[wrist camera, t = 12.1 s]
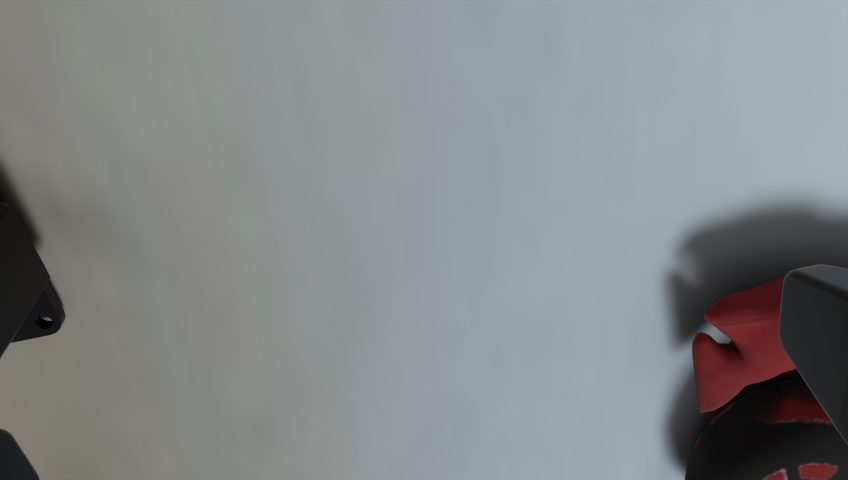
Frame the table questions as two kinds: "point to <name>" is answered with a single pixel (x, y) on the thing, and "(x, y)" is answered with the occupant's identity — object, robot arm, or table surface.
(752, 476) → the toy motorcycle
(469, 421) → the table surface
